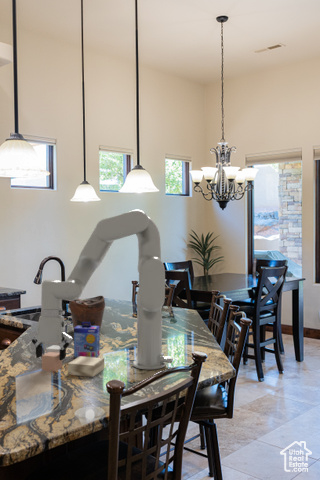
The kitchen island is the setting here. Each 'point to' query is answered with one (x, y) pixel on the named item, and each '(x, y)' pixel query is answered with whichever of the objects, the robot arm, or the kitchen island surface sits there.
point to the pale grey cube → (53, 349)
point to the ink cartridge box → (86, 341)
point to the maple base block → (86, 366)
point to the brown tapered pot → (87, 311)
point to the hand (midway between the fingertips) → (50, 358)
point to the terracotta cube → (51, 361)
